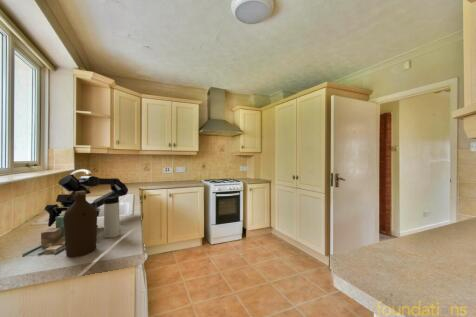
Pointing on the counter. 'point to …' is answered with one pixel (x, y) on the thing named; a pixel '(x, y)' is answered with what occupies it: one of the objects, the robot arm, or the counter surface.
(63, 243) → the tan square block
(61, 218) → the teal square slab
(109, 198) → the travel mug
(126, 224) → the counter surface
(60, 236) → the cube
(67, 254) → the olive oil
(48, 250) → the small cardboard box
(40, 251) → the lane tray
